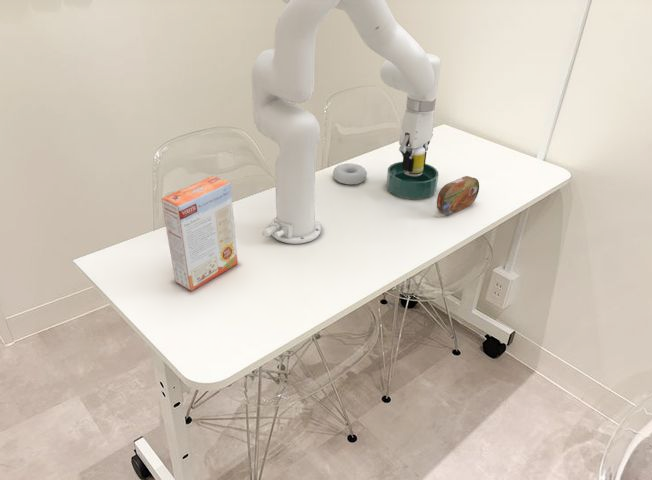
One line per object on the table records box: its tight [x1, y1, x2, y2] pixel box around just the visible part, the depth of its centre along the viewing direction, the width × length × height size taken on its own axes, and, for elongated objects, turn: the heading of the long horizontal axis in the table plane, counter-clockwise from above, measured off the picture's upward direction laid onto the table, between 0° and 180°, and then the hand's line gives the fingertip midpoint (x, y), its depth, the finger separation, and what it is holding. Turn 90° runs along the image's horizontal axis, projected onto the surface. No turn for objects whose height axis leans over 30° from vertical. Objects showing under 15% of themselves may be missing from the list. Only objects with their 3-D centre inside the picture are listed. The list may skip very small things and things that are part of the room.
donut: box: [332, 162, 368, 185], centre depth 172 cm, size 10×4×10 cm
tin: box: [436, 175, 480, 216], centre depth 157 cm, size 15×3×8 cm, turn 129°
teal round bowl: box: [386, 160, 439, 200], centre depth 167 cm, size 14×14×6 cm
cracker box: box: [161, 175, 238, 292], centre depth 125 cm, size 14×6×21 cm, turn 141°
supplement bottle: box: [404, 144, 426, 176], centre depth 163 cm, size 5×5×10 cm
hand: (413, 166), depth 164 cm, fingers closed on supplement bottle, 5 cm apart
